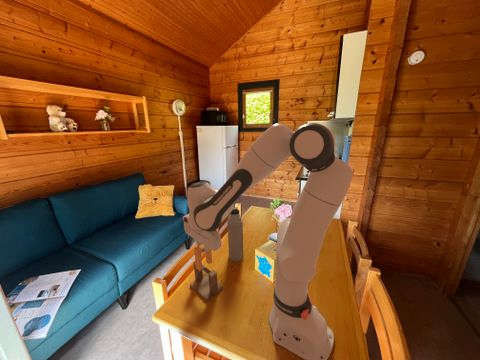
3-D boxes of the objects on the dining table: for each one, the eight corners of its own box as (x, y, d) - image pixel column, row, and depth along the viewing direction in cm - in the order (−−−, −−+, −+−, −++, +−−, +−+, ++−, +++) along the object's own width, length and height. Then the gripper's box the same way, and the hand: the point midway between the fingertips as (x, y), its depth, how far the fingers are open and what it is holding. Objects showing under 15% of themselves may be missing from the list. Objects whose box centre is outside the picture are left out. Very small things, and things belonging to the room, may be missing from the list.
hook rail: (223, 288, 90) (222, 268, 87) (207, 301, 84) (205, 280, 80) (205, 274, 98) (204, 255, 95) (190, 286, 92) (187, 266, 88)
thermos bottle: (244, 252, 113) (243, 207, 105) (241, 262, 106) (240, 215, 98) (230, 251, 115) (229, 206, 106) (227, 260, 108) (225, 213, 99)
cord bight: (212, 262, 89) (211, 243, 86) (199, 271, 84) (197, 251, 81) (208, 260, 91) (207, 241, 88) (196, 268, 86) (194, 248, 83)
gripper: (224, 226, 76) (225, 256, 81) (192, 210, 89) (195, 237, 94) (211, 233, 72) (213, 265, 76) (180, 215, 85) (183, 243, 89)
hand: (203, 249), depth 85 cm, fingers closed on cord bight, 2 cm apart
